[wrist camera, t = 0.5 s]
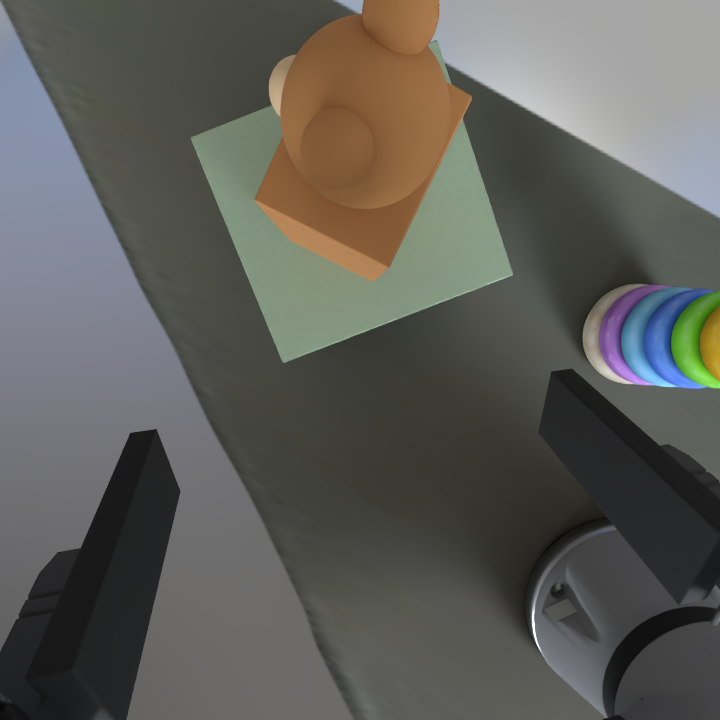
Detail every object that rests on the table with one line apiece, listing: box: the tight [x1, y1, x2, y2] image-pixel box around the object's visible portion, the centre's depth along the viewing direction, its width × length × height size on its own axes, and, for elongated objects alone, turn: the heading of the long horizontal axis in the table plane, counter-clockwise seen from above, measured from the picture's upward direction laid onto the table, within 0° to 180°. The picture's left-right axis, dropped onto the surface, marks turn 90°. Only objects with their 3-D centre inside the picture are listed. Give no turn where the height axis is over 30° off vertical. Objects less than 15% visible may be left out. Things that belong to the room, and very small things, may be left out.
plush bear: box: [254, 0, 472, 282], centre depth 16 cm, size 6×6×14 cm
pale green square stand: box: [191, 40, 513, 363], centre depth 28 cm, size 13×14×10 cm
